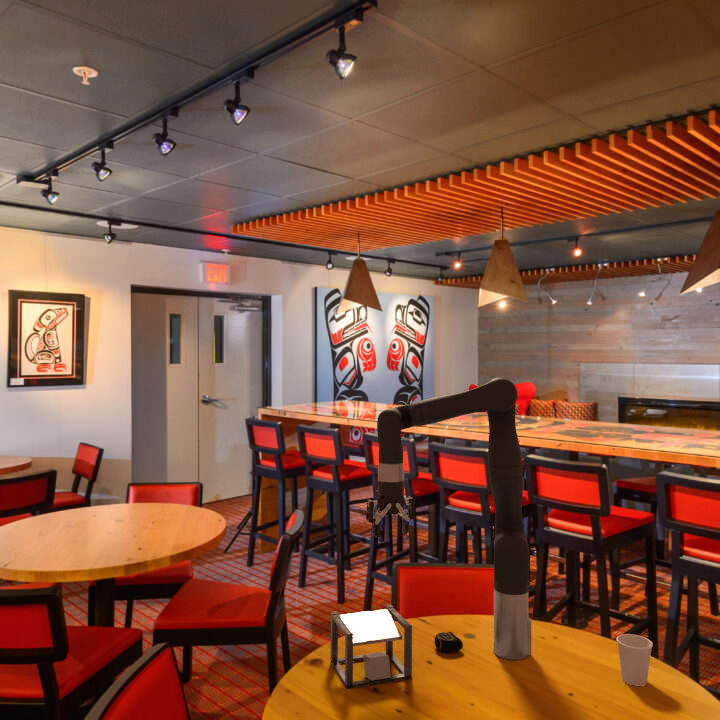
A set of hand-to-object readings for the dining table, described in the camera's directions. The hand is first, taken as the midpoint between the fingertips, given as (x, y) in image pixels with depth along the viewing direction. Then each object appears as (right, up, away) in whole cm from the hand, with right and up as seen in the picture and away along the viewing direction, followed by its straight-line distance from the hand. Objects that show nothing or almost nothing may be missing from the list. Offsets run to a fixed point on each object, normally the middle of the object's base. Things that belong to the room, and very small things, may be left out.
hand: (390, 535), depth 179 cm
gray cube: (-5, -27, -19) cm, 34 cm away
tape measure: (+16, -30, -4) cm, 35 cm away
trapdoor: (-6, -19, -17) cm, 26 cm away
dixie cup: (+60, -30, -22) cm, 71 cm away
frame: (-6, -30, -18) cm, 35 cm away
